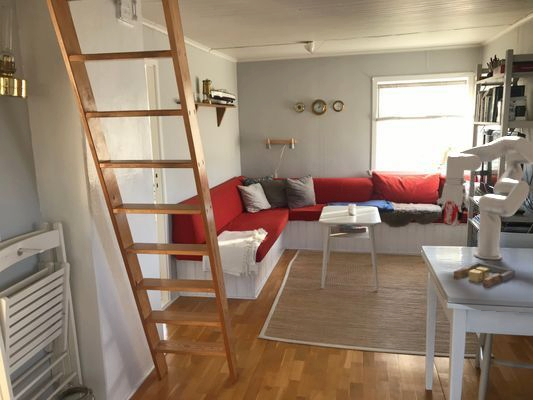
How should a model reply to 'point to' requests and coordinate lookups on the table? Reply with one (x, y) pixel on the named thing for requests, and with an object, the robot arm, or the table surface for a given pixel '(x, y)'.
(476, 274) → the tan wooden cube
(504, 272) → the grey u-shaped frame
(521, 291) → the table surface
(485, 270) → the wooden cube
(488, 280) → the slot rails
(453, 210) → the soda can
